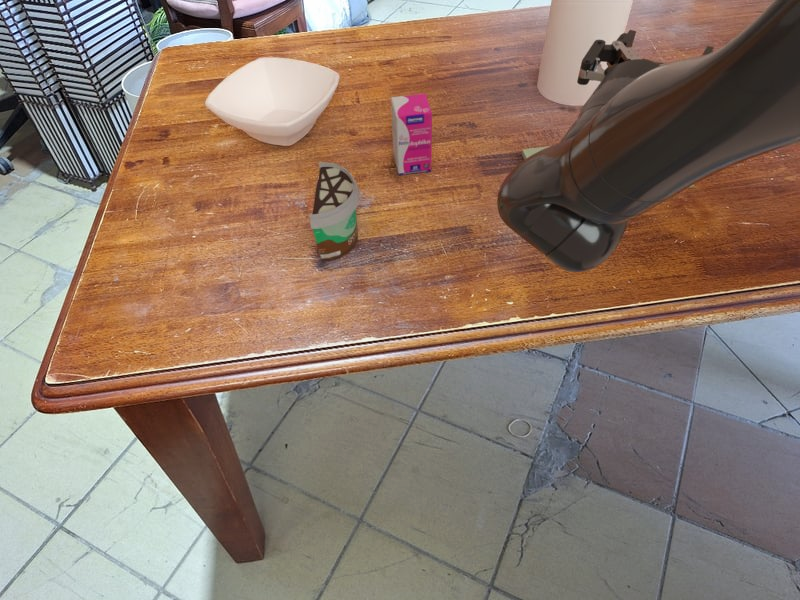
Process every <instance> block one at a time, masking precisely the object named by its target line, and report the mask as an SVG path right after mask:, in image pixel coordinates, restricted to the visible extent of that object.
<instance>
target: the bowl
mask: <svg viewBox="0 0 800 600" xmlns="http://www.w3.org/2000/svg"><path fill="white" fill-rule="evenodd" d="M339 82H340V74H339V73H338V72H336V71H335V70H333V69H331V68H329V67H327V66H324V65H321V64H317V63H313V62H309V61H306V60H301V59H293V58H288V57H287V58H286V57H277V56H275V57H274V56H272V57H271V56H270V57H269V56H267V57H259V58H256V59H254V60H252V61H250V62H248V63H246V64H244V65H243V66H241V67H239V68H237V69H236V70H235V71H234V72H231V74H229V75H228V76H226V77H225V78H223V80H221V82H219V83H218V84H217V85H216V87H214V89H212V91H211V92H210V93H209V94H208V96H207V97H206V100H205V102H204V105H205V107H206V108H207V109H208V110H209V111H210V112H212V113H213V114H215V115H216V117H218V118H219V119H221V120H222V121H223V122H225V123H226V124H227V125H230V126H231V127H234V128H236V129H239V130H242V131H243V132H244V133H245V134H247V135H248V136H249V137H250V138H252V139H254V140H257V141H259V142H261V143H264V144H268V145H273V146H284V147H290V146H292V145H294V144H296V143H298V141H300V140H302V139H304V137H305V136H307V134H309V132H310V131H311V130H312V128H313V127H314V125H315V124H316V123H317V121H318V118H319V117H320V116H321V115H322V113H323V112H324V111H325V110H326V109H327V107H328V105H329V104H330V102H331V100H332V99H333V96H334V94H335V92H336V90H337V87H338V85H339Z"/></svg>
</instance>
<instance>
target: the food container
mask: <svg viewBox="0 0 800 600" xmlns="http://www.w3.org/2000/svg"><path fill="white" fill-rule="evenodd" d="M318 168H319V173H318V178H317V184H316V188H315V194H314V201H313V207H312V212H311V214H308V216H309V224H310V225H309V226H310V229H311V230H312V231H313V235H314V238H315V242H316V247H317V250H318V253H319V257H320V261H321V262H322V263H323V262H331V261H336V260H339V259H341V258H342V257H344V256H346V255H348V254H349V253H350V252H351V251H352V250H353V249H354V248H355V247H356V245H357V243H358V219H357V218H358V217H357V207H358V206H359V203H360V201H361V192H360V188H359V186H358V184H357V181H356V179H355V178H354V176H353V175H352V174H351V172H350V171H348V170H347V168H345V167H343V166H341V165H339V164H336V163H332V162H326V161H318Z"/></svg>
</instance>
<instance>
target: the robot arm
mask: <svg viewBox="0 0 800 600" xmlns="http://www.w3.org/2000/svg"><path fill="white" fill-rule="evenodd" d="M636 33H637V30H633V29H629V30H628V31H627V33H625V32H624V33H623V34H621V35H620V37H619V38H618V39H617V40H616V41H613V42H612V44H611V45H605V43H606V42H605V41H604V40H595V42H594V43H593V45H592V46H591V48H590V49H589V51H588V52H587V54H586V55H585V57H584V58H583V60H582V63H581V67H580V71H579V76H578V80H577V83H578V84H580V85H587V84H588V83H589V81H590V80H592V81H593V80H595V81H600V82H601V83H600V84H599V85H598V87H597V88H596V89H595V91H594V92H593V93H592V95H591V96H590V98H589V99H588V100H587V102H586V103H585V104H584V106H581V109H580V111H579V113H578V115H577V118H576V120H575V121H574V122H573V124H572V125H571V126H570V127H569V129H568V130H567V132H566V133H565V134H564V136H563V137H562V138H561V140H560V141H559V142H558V143H555V144H553V145H549V146H550V147H548V148H545V149H543V150H541V151H539V152H537V153H535V154H533V155H531V156H530V157H528V158H526V159H525V160H524V159H523V160H522V161H520V162H519V163H518V164H517V165H516V166H515V167H514V168H513V169H512V170H511V171H510V172H509V173H508V175H507V176H505V179H504V180H503V182H502V183H501V185H500V187H499V190H498V192H497V199H496V205H497V206H496V207H497V213H498V215H499V217H500V219H501V220H502V222H503V223H504V224H505V225H506V226H507V227H508V228H509V229H510V230H511V231H513V232H514V233H515V234H516V235H518V236H519V237H520V238H521V239H522V240H524V241H525V242H527V244H529V245H530V246H532V248H534V249H535V250H537V252H539V253H540V254H542V255H544V257H545V258H547V259H548V260H549V261H550V262H551V263H553V264H554V265H556V266H557V267H558V268H560V269H562V270H564V271H568V272H570V273H583V272H588V271H590V270H592V269H595V268H597V267H599V266H601V264H603V263H604V262H605V261H607V260H608V259H609V258H610V257H611V256H612V254H613V253H614V252H615V251H616V249H617V247H618V246H619V245H620V243H621V241H622V239H623V237H624V235H625V232H626V229H627V226H628V223H629V221H631V220H634V219H636V218H638V217H640V216H641V215H643V214H645V213H647V212H648V211H650V210H652V209H653V208H656V207H657V206H659V205H661V204H662V203H664V202H666V201H668V200H669V199H672V198H673V197H675V196H676V195H679V194H680V193H682V192H683V191H685V190H687V189H689V188H688V187H690V186H692V185H694V184H695V185H696V184H697V183H699V182H702V181H704V180H705V179H707V178H709V177H711V176H713V175H716V174H717V173H719V172H721V171H724V170H726V169H728V168H730V167H733V166H735V165H738V164H740V163H743V162H745V161H747V160H751V159H753V158H755V157H758V156H761V155H765V154H768V153H771V152H773V151H776V150H779V149H783V148H785V147H788V146H791V145H793V144H797V143H799V142H800V0H773V1H772V2H770V4H769V5H768V6H767V7H766V8H765V9H764V10H763V11H762V12H761V14H759V15H758V16H757V17H756V18H755V19H754V20H753V21H752V22H751V23H750V24H749V25H748V26H747V27H745V28H744V29H743V30H742V31H741V32H740V33H738V34H737V35H736V36H734V37H733V38H731V40H729V41H728V42H727V43H726V44H724V45H723V46H721V47H719V48H718V49H715V50H714V48H715V46H710V45H707V46H706V48H705V49H704V51H703V53H702V54H701V55H699V56H694V57H688V58H684V59H680V60H676V61H670V62H658V61H653V60H650V59H647V58H642V57H641V56H638V54H637V53H636V51H635V50H634V49H633V48H632V47H633V44H634V40H635V36H636ZM601 62H607V66H608V67H607V68H606V69H605V70H604V69H602V67H601V66H602V65H601V64H600V63H601ZM695 185H694V186H695Z"/></svg>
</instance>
